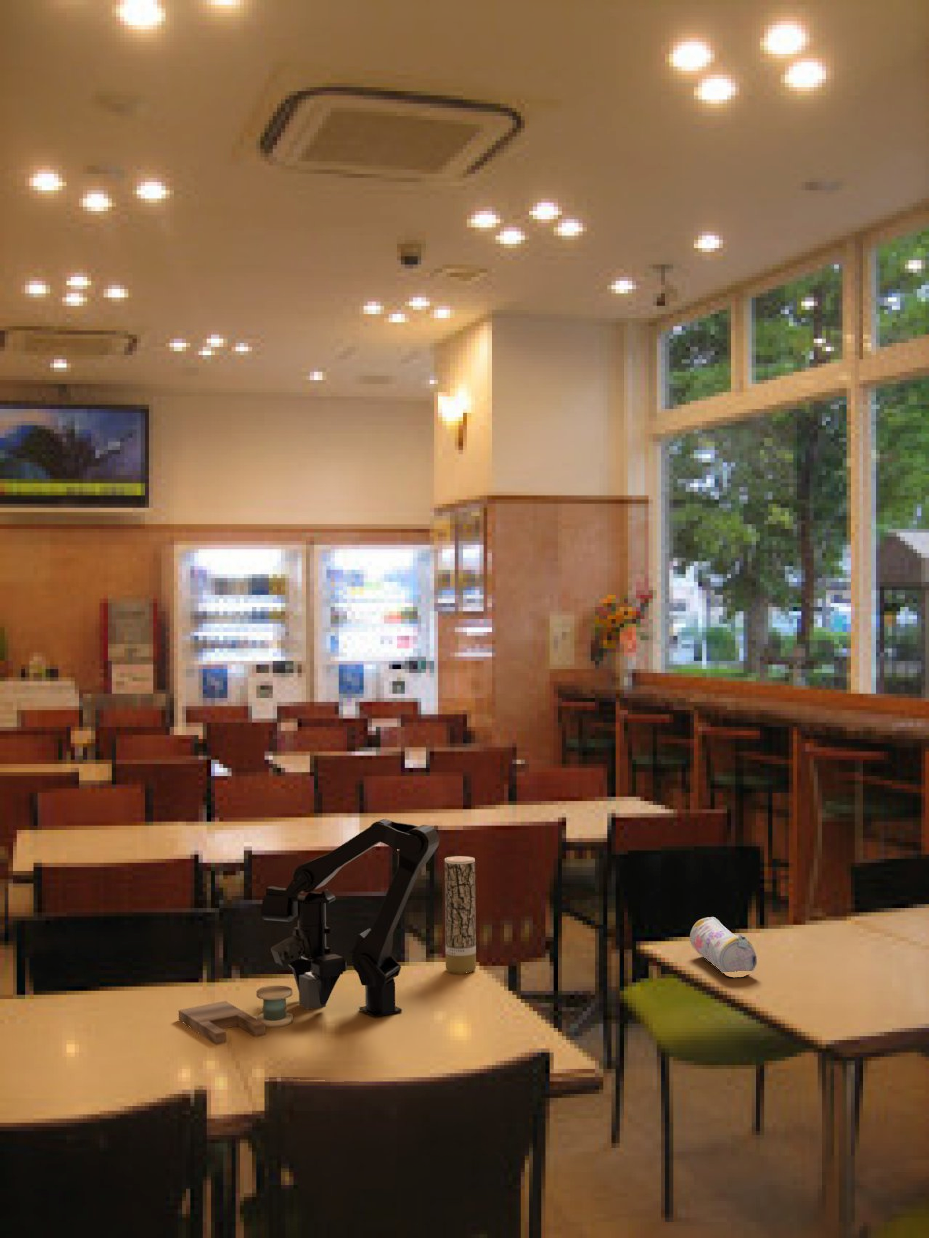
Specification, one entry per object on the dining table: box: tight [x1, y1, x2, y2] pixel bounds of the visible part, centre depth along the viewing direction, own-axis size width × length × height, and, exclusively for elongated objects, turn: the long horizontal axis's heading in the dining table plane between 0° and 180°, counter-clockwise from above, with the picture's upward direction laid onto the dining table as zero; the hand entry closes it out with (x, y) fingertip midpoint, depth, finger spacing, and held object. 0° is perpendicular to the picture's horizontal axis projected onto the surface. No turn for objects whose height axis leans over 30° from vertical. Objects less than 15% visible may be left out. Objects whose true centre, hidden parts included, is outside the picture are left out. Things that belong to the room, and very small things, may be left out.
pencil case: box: [689, 916, 758, 973], centre depth 287 cm, size 21×9×10 cm, turn 10°
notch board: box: [178, 1000, 266, 1045], centre depth 248 cm, size 18×10×2 cm, turn 35°
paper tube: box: [444, 855, 477, 974], centre depth 286 cm, size 7×7×25 cm
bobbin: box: [255, 985, 294, 1028], centre depth 251 cm, size 7×7×6 cm
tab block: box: [298, 971, 327, 1010], centre depth 261 cm, size 4×4×6 cm
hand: (312, 999), depth 261 cm, fingers open, 9 cm apart
